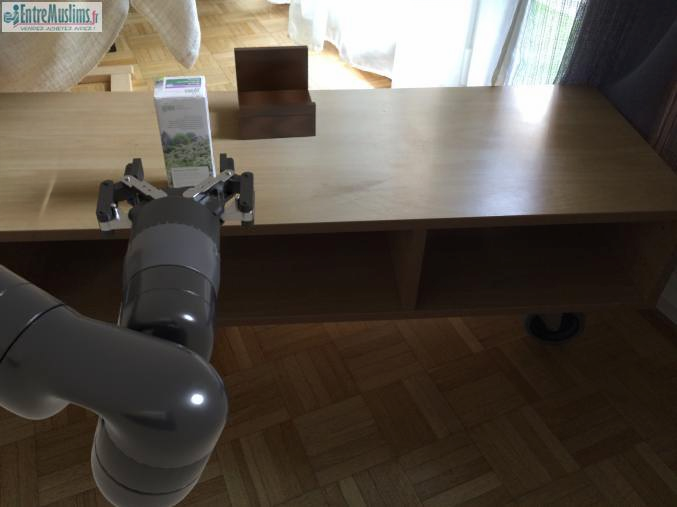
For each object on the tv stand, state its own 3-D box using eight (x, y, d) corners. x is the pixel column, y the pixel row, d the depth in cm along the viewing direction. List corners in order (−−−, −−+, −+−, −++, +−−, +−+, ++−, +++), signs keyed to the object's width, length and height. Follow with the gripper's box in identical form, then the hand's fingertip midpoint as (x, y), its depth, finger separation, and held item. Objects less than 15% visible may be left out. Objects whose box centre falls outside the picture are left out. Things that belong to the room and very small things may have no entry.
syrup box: (216, 177, 81) (204, 72, 72) (217, 202, 77) (205, 93, 68) (172, 180, 80) (155, 74, 71) (171, 205, 76) (152, 95, 67)
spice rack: (241, 139, 90) (236, 74, 83) (238, 109, 97) (233, 47, 91) (315, 135, 91) (316, 71, 85) (307, 106, 99) (307, 45, 92)
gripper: (93, 303, 52) (117, 198, 64) (262, 289, 54) (254, 189, 66) (71, 232, 47) (102, 133, 60) (258, 219, 49) (249, 126, 61)
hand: (182, 163), depth 63 cm, fingers open, 8 cm apart
